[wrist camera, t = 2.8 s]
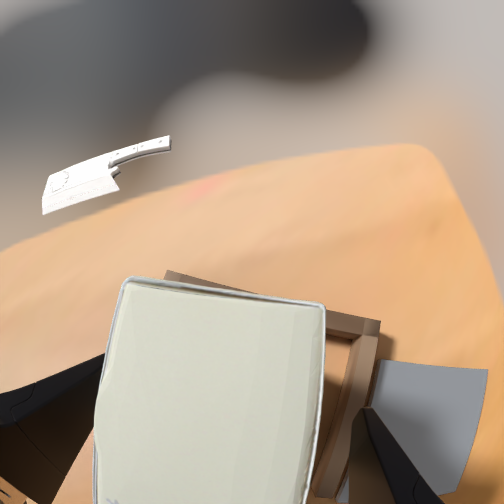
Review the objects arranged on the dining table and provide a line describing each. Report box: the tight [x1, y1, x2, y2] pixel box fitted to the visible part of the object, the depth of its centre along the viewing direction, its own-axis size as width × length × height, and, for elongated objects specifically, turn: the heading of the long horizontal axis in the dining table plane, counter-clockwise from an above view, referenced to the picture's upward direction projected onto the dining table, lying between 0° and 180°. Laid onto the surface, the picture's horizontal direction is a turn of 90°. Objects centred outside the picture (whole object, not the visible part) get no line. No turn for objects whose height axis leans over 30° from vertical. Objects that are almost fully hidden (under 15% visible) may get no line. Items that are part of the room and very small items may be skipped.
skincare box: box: [93, 276, 326, 504], centre depth 9 cm, size 6×4×12 cm
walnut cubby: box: [164, 270, 381, 498], centre depth 14 cm, size 11×13×2 cm
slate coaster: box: [335, 359, 488, 503], centre depth 12 cm, size 10×10×1 cm
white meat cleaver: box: [42, 136, 172, 215], centre depth 23 cm, size 5×15×1 cm, turn 99°
